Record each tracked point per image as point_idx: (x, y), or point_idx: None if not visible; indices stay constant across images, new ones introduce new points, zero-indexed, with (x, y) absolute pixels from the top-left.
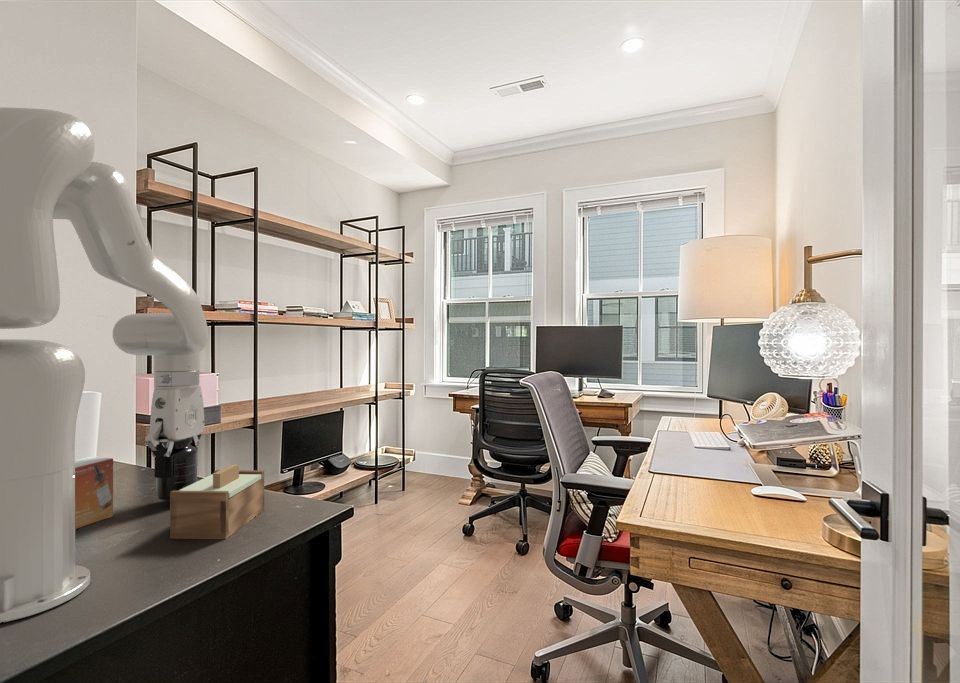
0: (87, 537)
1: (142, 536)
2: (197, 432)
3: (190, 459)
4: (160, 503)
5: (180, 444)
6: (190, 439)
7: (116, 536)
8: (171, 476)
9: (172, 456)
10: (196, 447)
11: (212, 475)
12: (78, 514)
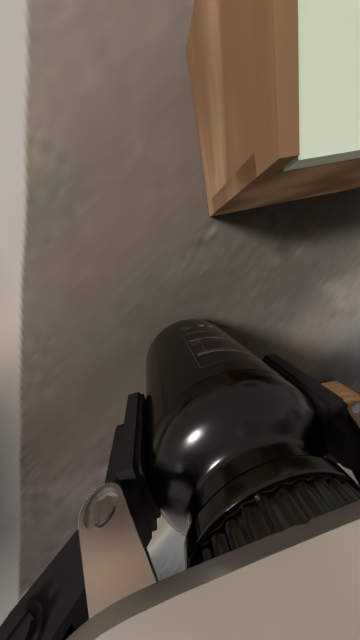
0: (349, 338)
1: (349, 253)
2: (202, 633)
3: (241, 362)
4: None
5: (334, 465)
6: (268, 506)
7: (347, 298)
8: (272, 354)
9: (334, 399)
10: (127, 470)
11: (324, 138)
12: (345, 396)
